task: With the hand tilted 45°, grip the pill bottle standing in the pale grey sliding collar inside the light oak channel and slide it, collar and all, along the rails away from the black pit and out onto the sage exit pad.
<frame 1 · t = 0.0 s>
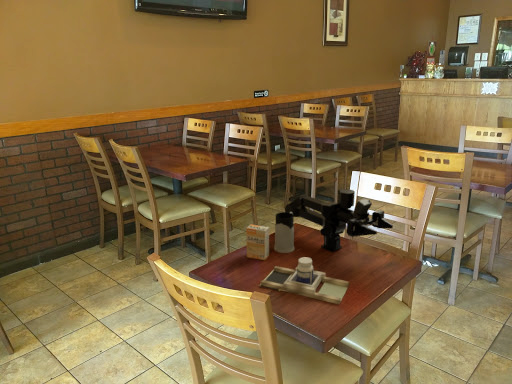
hand: (384, 229, 144), 17 cm above the table, tool horizontal, fingers open, 9 cm apart
collar carriage: (304, 280, 139), point 2 cm above the table, slide at 0.0 cm
pill bottle: (304, 286, 140), on the table
oak channel: (304, 285, 140), on the table
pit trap: (277, 278, 144), on the table
glass holder: (286, 246, 171), on the table
exit pad: (332, 291, 135), on the table
supplement box: (257, 257, 161), on the table
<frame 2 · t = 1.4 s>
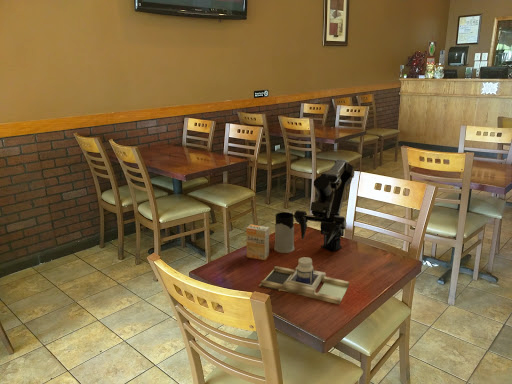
hand: (314, 240, 142), 14 cm above the table, tool tilted 45°, fingers open, 9 cm apart
nothing on the table moved.
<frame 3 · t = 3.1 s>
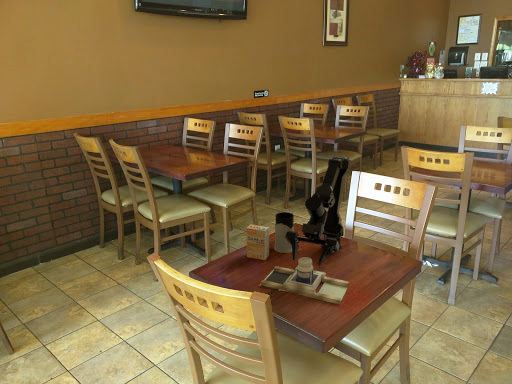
hand: (305, 263, 138), 8 cm above the table, tool tilted 45°, fingers open, 9 cm apart
nothing on the table moved.
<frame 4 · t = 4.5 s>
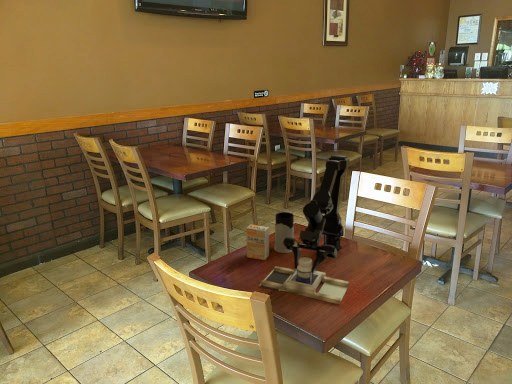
hand: (303, 270, 137), 7 cm above the table, tool tilted 45°, fingers closed on pill bottle, 6 cm apart
pill bottle: (304, 286, 140), on the table, touching gripper
everything else where it was.
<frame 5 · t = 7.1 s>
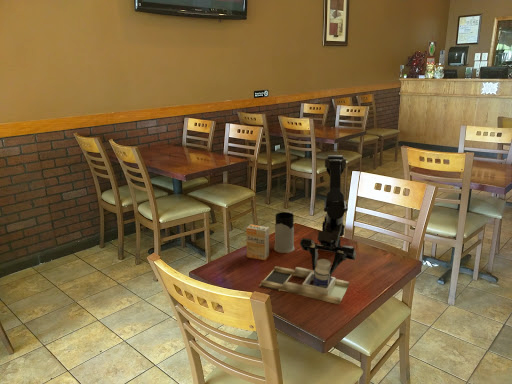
hand: (321, 272, 134), 7 cm above the table, tool tilted 45°, fingers closed on pill bottle, 6 cm apart
collar carriage: (319, 284, 137), point 2 cm above the table, slide at 5.1 cm, touching pill bottle
pill bottle: (321, 287, 137), touching collar carriage, gripper
everything else where it was.
when the fingers open (7 cm above the table, at t = 9.0 s): pill bottle stays where it is, resting on exit pad.
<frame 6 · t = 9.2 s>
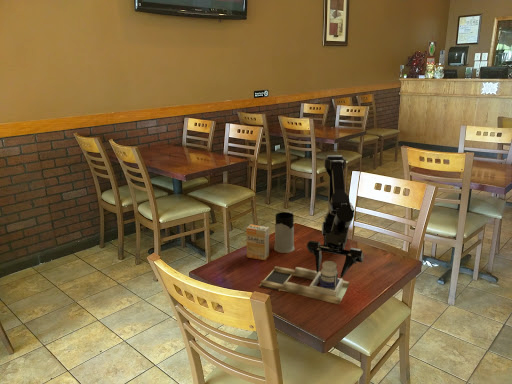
hand: (329, 274, 133), 7 cm above the table, tool tilted 45°, fingers open, 8 cm apart
collar carriage: (326, 285, 136), point 2 cm above the table, slide at 7.7 cm
pill bottle: (328, 290, 136), resting on exit pad
everything else where it was.
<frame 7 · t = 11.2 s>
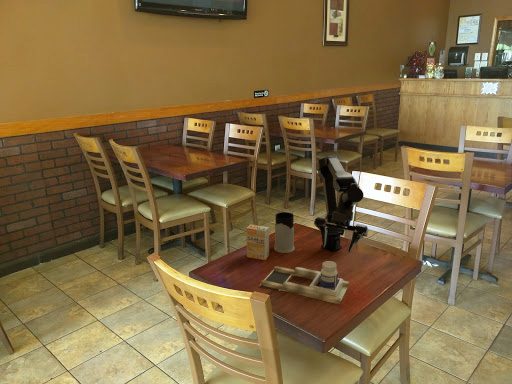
hand: (336, 249, 141), 11 cm above the table, tool tilted 35°, fingers open, 9 cm apart
nothing on the table moved.
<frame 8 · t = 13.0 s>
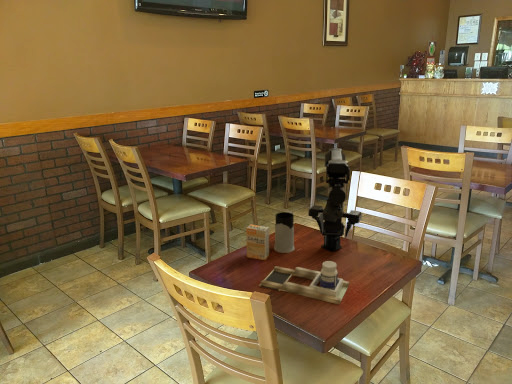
hand: (333, 235, 149), 13 cm above the table, tool pointing down, fingers open, 9 cm apart
nothing on the table moved.
at the end: pill bottle 0.7 cm from the target spot on the oak channel, point 0.0 cm above the oak channel's base; pill bottle tilted 0°; collar carriage slide at 7.7 cm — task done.
